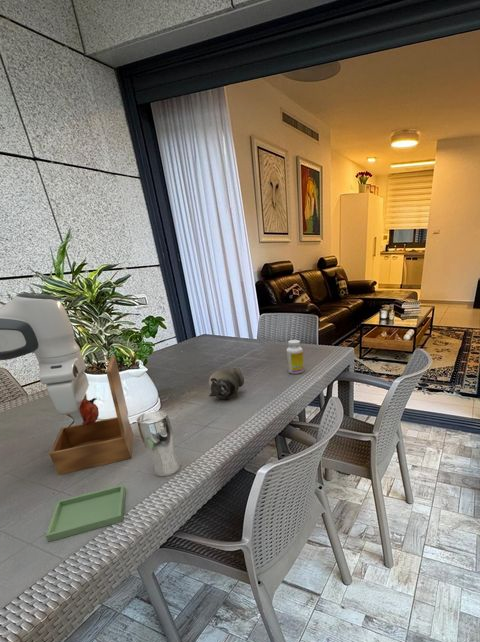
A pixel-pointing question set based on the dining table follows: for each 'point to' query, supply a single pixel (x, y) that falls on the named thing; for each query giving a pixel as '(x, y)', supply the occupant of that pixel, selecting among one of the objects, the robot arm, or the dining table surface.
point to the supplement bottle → (295, 357)
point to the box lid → (117, 394)
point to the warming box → (91, 445)
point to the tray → (87, 512)
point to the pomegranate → (88, 412)
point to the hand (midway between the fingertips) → (82, 415)
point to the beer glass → (159, 441)
